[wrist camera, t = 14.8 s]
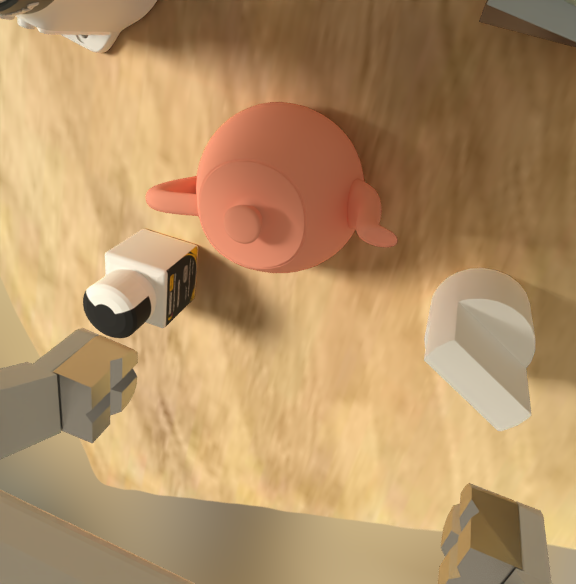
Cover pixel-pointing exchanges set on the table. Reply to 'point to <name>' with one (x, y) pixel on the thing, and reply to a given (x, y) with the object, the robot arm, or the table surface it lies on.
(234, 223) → the teapot
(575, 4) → the pale green cylinder
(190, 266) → the white bottle
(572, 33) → the top block
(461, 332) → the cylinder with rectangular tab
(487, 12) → the bottom block
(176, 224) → the table surface
